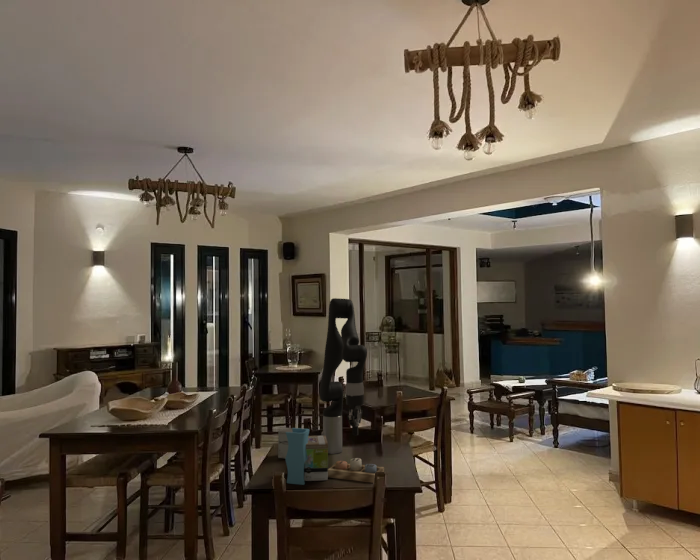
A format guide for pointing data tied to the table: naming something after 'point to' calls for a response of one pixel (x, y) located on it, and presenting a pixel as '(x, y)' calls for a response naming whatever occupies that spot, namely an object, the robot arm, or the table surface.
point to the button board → (353, 473)
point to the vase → (296, 455)
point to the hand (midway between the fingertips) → (355, 435)
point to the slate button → (370, 468)
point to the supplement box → (283, 442)
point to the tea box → (316, 459)
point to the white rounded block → (355, 464)
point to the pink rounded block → (341, 465)
